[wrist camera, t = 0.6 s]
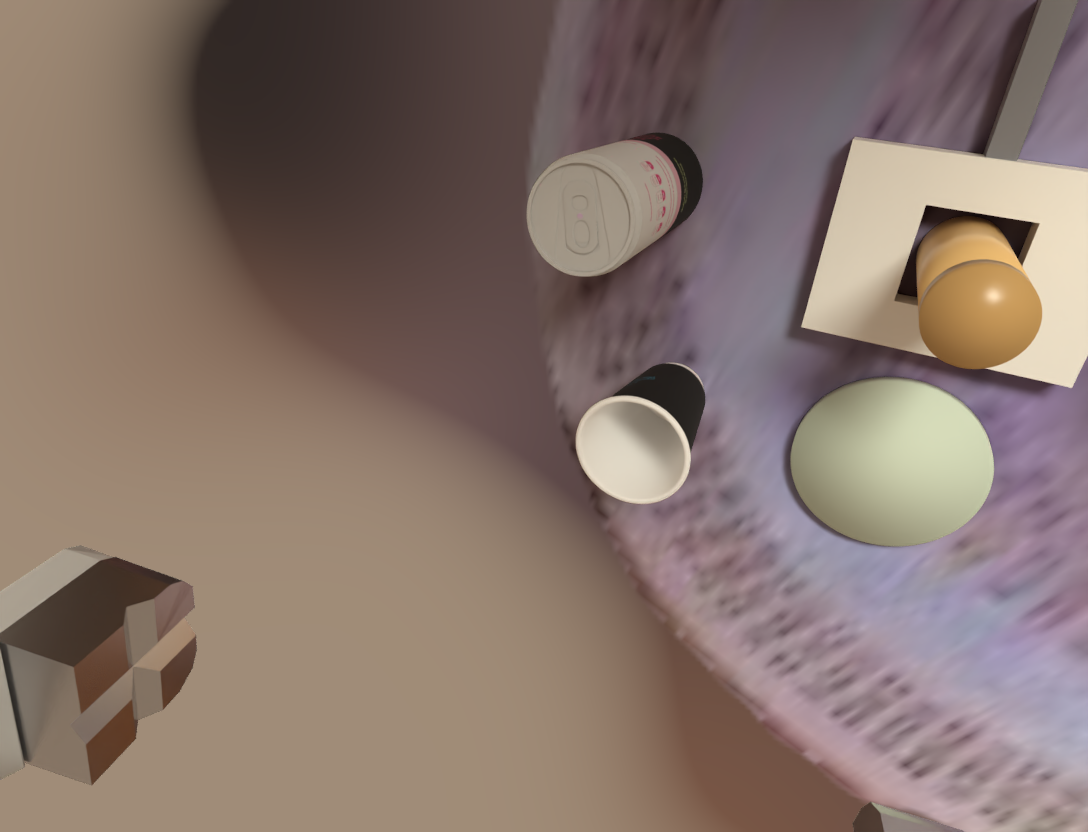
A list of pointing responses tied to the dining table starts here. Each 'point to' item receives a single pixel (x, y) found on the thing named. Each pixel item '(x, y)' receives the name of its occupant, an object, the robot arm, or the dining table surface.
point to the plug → (974, 295)
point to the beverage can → (612, 202)
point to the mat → (892, 461)
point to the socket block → (974, 186)
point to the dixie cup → (643, 435)
